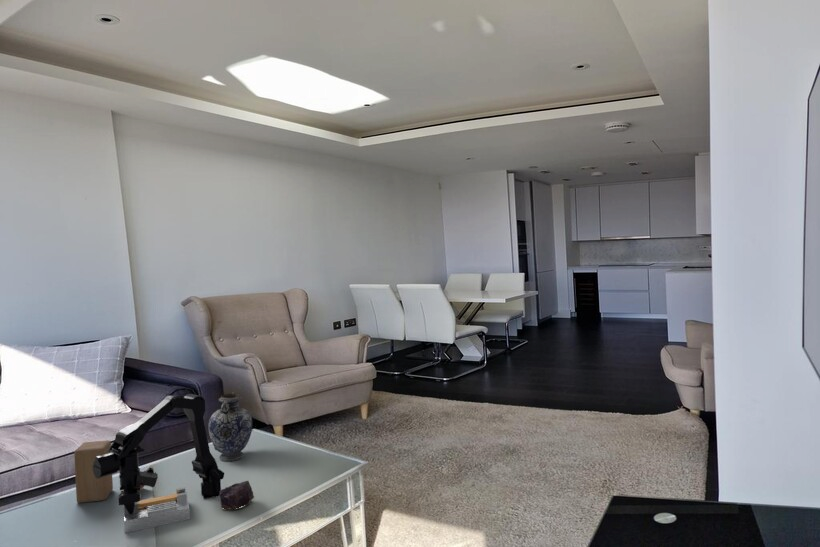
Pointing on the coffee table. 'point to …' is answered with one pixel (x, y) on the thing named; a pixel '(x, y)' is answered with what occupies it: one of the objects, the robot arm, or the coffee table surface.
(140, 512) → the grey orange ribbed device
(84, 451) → the block
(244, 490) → the rock
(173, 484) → the coffee table surface
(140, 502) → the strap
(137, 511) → the block
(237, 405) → the decorative vase
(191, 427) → the robot arm
